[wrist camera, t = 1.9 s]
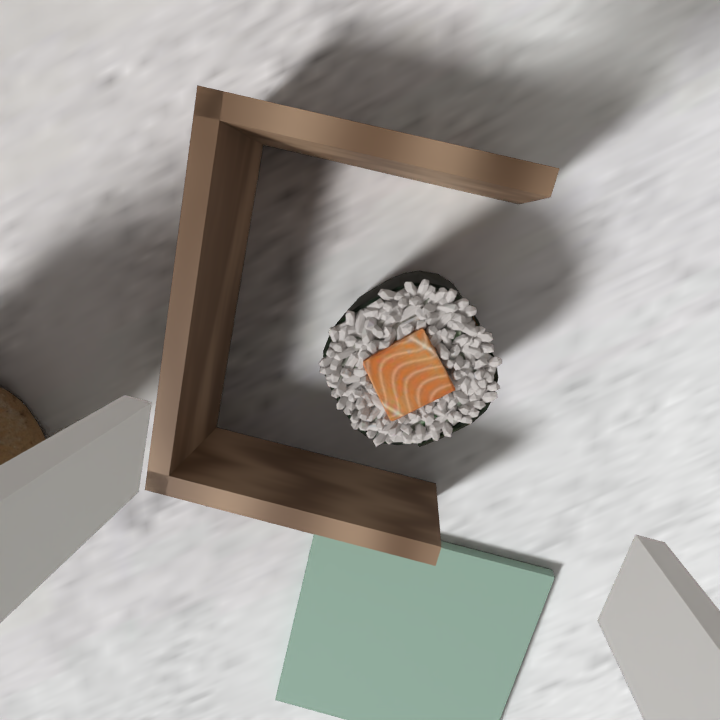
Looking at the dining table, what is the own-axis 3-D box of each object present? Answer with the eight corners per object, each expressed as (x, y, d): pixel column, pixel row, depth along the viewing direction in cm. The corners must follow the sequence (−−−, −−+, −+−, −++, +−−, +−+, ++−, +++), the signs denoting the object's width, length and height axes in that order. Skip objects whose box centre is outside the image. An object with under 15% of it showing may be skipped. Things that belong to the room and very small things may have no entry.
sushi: (502, 363, 32) (530, 407, 24) (382, 422, 33) (373, 481, 26) (441, 245, 30) (450, 251, 23) (319, 313, 32) (290, 340, 24)
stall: (196, 439, 35) (144, 489, 28) (246, 117, 30) (197, 85, 23) (431, 499, 34) (435, 566, 28) (525, 182, 29) (559, 168, 22)
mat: (320, 509, 35) (318, 515, 35) (551, 569, 35) (554, 577, 34) (278, 690, 40) (275, 699, 39) (483, 747, 39) (485, 757, 38)
